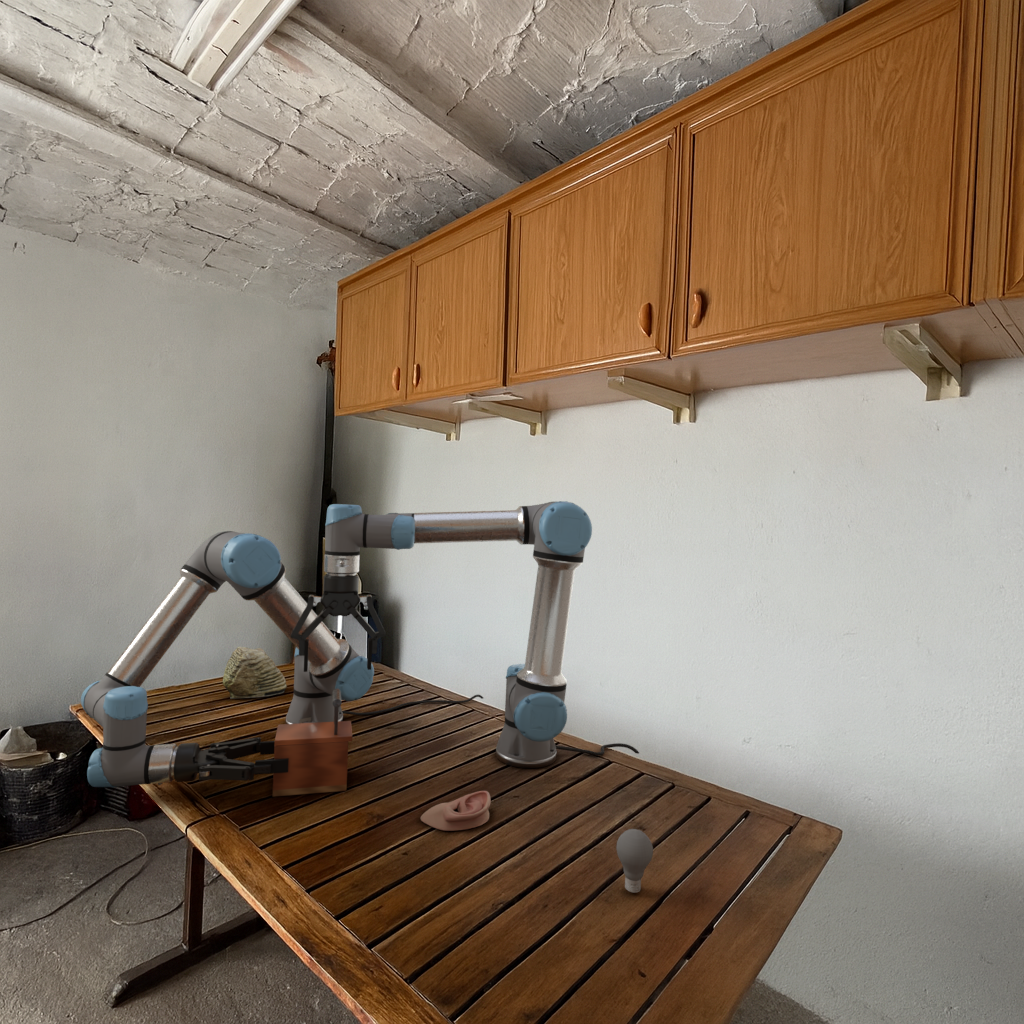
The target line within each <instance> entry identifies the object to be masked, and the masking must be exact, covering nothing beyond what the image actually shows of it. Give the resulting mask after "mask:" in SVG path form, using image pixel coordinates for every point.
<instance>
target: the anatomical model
mask: <svg viewBox="0 0 1024 1024" xmlns="http://www.w3.org/2000/svg"><path fill="white" fill-rule="evenodd" d="M491 799H492V798H491V793H490V792H489V791H488V790H478V791H475V792H472V793H468V794H465V795H463V796H461V797H459V798H457V799H455V800H451V801H449V802H441V803H438V804H436V805H434V806H432V807H430V808H429V809H427V810H426V811H425V812H424V813H423V814H421V816H420V817H419V818H420V821H421V822H423V823H424V824H426V825H428V826H429V827H431V828H434V829H437V830H440V831H443V832H445V831H446V832H449V831H450V832H452V831H464V830H469V829H474V828H477V827H480V826H482V825H485V824H486V823H487V822H488V821H489V820H490V810H489V809H490V807H491V803H492V801H491Z"/></svg>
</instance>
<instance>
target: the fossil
mask: <svg viewBox="0 0 1024 1024" xmlns="http://www.w3.org/2000/svg"><path fill="white" fill-rule="evenodd" d="M222 676H223V677H222V685H223V687H224V688H225V690H226V691H228V693H229V698H230V699H250V698H264V697H271V696H275V695H281V694H284V693H285V691H286V689H287V687H288V686H287V680H286V678H285V676H284V674H283V673H282V672H281V669H279V668H278V667H277V665H276V663H275V662H274V660H273V659H272V658H271V657H270V656H269V655H268V654H267V653H266V652H265V650H264V649H263V648H260V647H258V648H251V647H247V646H246V647H245V646H238V647H237V648H236V649H235V650H233V651H232V653H231V656H230V657H229V659H228V660H227V663H226V666H225V668H224V671H223V675H222Z"/></svg>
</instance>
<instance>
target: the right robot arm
mask: <svg viewBox="0 0 1024 1024" xmlns="http://www.w3.org/2000/svg"><path fill="white" fill-rule="evenodd" d="M325 519H326V520H325V524H324V526H325V529H324V530H325V531H324V532H325V534H324V540H325V541H324V559H323V560H324V561H323V562H324V563H323V572H324V573H325V574H324V575H323V587H322V588H323V590H322V595H321V596H316V595H314V594H309V595H308V598H307V602H306V603H307V606H306V608H305V610H304V611H303V613H302V615H301V617H300V618H299V620H298V622H297V624H296V626H295V627H294V629H293V631H292V633H291V638H292V639H297V640H298V641H299V655H300V656H304V672H307V670H308V647H309V639H306V638H307V637H308V636H309V635H310V634H311V633H312V632H313V631H314V629H315V628H316V627H317V626H318V625H319V624H320V623H321V622H323V621H324V620H325V619H326V618H327V617H328V616H329V615H330V616H332V617H340V616H341V617H348V616H350V615H352V617H353V618H354V619H355V620H356V621H357V622H358V624H359V625H360V626H361V627H362V629H364V631H365V632H366V633H367V634H368V635H369V637H368V638H367V657H366V658H367V668H368V670H371V663H372V664H373V662H372V660H373V659H372V658H373V655H376V654H377V652H378V641H379V639H381V638H384V637H386V636H387V633H386V630H385V628H384V626H383V625H382V622H381V620H380V618H379V616H378V613H377V611H376V609H375V608H374V602H373V597H372V594H367V595H363V596H360V595H359V585H360V583H359V582H360V576H359V575H358V573H359V572H360V557H361V556H360V555H361V552H360V550H361V548H363V549H367V548H368V549H369V548H371V549H385V550H386V549H387V550H389V549H392V550H396V551H397V550H398V551H399V550H411V549H413V548H414V546H415V544H444V543H445V544H446V543H452V544H453V543H480V542H481V543H485V542H517V543H518V544H519V545H520V546H521V545H531V546H532V545H533V551H532V558H533V559H534V560H535V561H536V563H537V572H536V580H535V587H534V594H533V601H532V602H533V603H532V610H531V615H530V624H529V632H528V638H527V639H528V640H527V647H526V653H525V654H526V655H525V661H524V663H515V664H511V665H509V666H507V669H506V675H505V679H506V680H505V682H506V683H505V703H504V704H505V705H504V724H503V726H502V730H501V733H500V735H499V738H498V740H497V744H496V746H495V748H496V749H495V756H496V758H497V759H498V760H499V761H500V762H501V763H503V764H505V765H508V766H511V767H516V768H520V769H539V768H544V767H547V766H550V765H552V764H553V763H554V762H556V760H557V750H561V751H568V752H574V753H582V754H587V755H590V756H591V755H592V756H596V757H599V756H603V755H604V754H605V749H609V748H610V749H611V748H626V749H628V750H631V751H632V752H634V753H635V754H636V755H637V754H640V752H639V751H638V749H636V747H634V746H632V745H630V744H627V743H620V742H617V743H608V744H604V745H601V746H600V751H592V750H589V749H583V748H577V747H569V746H563V745H556V742H555V739H554V738H557V736H559V735H560V734H561V733H562V732H563V730H564V729H565V727H566V725H567V720H568V709H567V705H566V704H565V700H566V699H565V698H566V693H567V684H568V680H567V678H566V677H565V676H564V674H563V673H562V672H563V665H564V656H565V651H566V650H565V648H566V643H567V642H566V641H567V634H568V628H569V627H568V626H569V620H570V611H571V604H572V598H573V589H574V582H575V575H576V570H577V569H578V568H580V566H582V565H583V564H584V557H585V549H586V547H587V546H588V545H589V543H590V541H591V538H592V535H593V525H592V524H593V523H592V521H591V518H590V516H589V515H588V513H587V512H586V511H585V510H584V509H583V508H582V507H581V506H579V505H578V504H576V503H574V502H571V501H567V500H565V501H563V500H561V501H560V500H559V501H548V502H544V503H539V504H533V505H520V506H518V507H517V508H516V509H514V510H513V509H512V510H508V509H507V510H477V511H476V510H475V511H472V510H471V511H442V512H441V511H439V512H435V511H434V512H433V511H432V512H403V513H402V512H401V513H398V512H389V513H386V514H369V513H363V510H362V506H361V505H359V504H347V503H346V504H344V503H343V504H341V503H333V504H329V506H328V507H327V510H326V518H325ZM318 603H321V605H322V606H323V609H322V610H321V612H319V614H317V617H316V618H315V619H314V621H313V622H312V623H311V624H310V625H309V626H308V627H307V628H306V629H305V630H304V631H303V633H302V634H301V633H299V631H300V629H301V628H302V626H303V624H304V622H305V621H306V619H307V617H308V615H309V613H310V612H311V610H313V608H314V607H316V606H318ZM360 603H362V604H363V606H365V607H367V609H368V612H369V614H370V616H371V618H372V620H373V622H374V624H375V627H376V628H377V631H375V630H374V629H373V628H372V626H371V625H370V624H369V623H368V622H367V620H366V619H365V618H364V617H363V616H362V614H361V613H360V612H359V610H357V607H358V606H359V604H360Z"/></svg>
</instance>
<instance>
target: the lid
mask: <svg viewBox="0 0 1024 1024" xmlns="http://www.w3.org/2000/svg"><path fill="white" fill-rule="evenodd" d="M332 696H333V706H334V722H318V723H299V724H286V723H284V724H283V723H281V724H278V725H277V728H276V733H275V738H274V741H275V746H280V745H297V744H313V743H330V742H347V741H348V742H353V729H352V721H351V720H343V721H338V709H339V707H340V706H341V707H342V700H341V691H340V689H334V690H333V692H332Z"/></svg>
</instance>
